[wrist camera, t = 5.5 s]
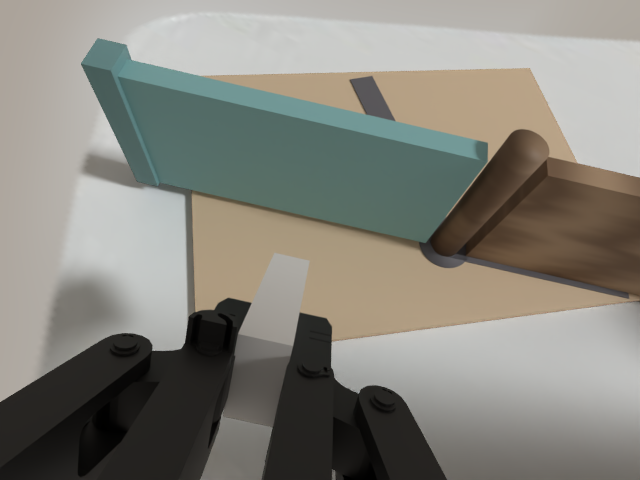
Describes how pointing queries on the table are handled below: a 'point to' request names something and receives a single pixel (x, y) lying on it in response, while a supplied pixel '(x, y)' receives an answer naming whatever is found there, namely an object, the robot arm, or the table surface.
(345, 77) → the mat
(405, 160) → the fence gate
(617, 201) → the fence frame
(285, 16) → the table surface
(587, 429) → the table surface
